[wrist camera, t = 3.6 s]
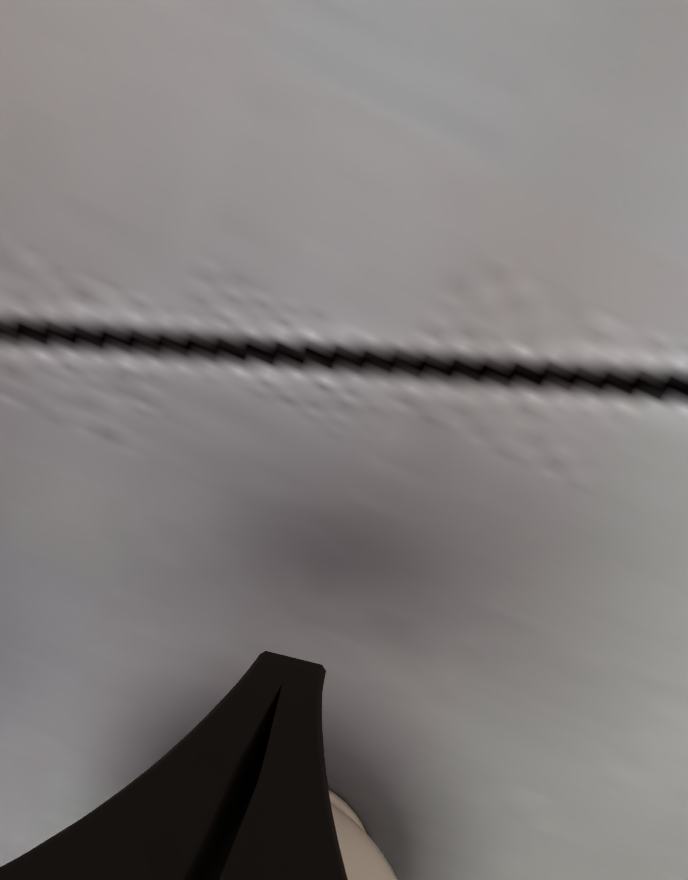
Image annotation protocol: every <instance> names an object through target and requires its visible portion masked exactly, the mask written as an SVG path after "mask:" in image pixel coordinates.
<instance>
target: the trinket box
mask: <svg viewBox="0 0 688 880" xmlns="http://www.w3.org/2000/svg"><path fill="white" fill-rule="evenodd" d="M329 796H330V802H331V808H332V813H333V818H334V823H335V828H336V833H337V837H338V842H339V847H340V851H341V855H342V859H343V863H344V867H345V871H346V875H347V879H348V880H398V879H397V877H396V875H395V873H394V871H393V869H392V867H391V866H390V864H389V863H388V861H387V860H386V859H385V857H384V856H383V854H382V853H381V851H380V850H379V849H378V847H377V846H376V844H375V843H374V842H373V840H372V839H371V838H370V837H369V836H368V835H367V833H366V831H365V829H364V827H363V825H362V823H361V821H360V820H359V818H358V817H357V815H356V814H355V812H354V811H353V810H352V809H351V808H350V807H349V806H348V805H347V804H346V803H345V802H344V801H343V800H342V799H341V798H339V797H338V796H337V795H336V794H335V793H333V792H332V791H330V790H329Z"/></svg>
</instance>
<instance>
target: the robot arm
mask: <svg viewBox="0 0 688 880" xmlns="http://www.w3.org/2000/svg"><path fill="white" fill-rule="evenodd" d="M325 673H326V670H325V669H324V667H323V666H322V665H320V664H316V663H312V662H308V661H304V660H300V659H296V658H292V657H288V656H284V655H280V654H276V653H271V652H267V651H265V652H263V653H261V654H260V655H259V656H258V658H257V659H256V660H255V662H254V663H253V664H252V666H251V667H250V668H249V669H248V671H247V672H246V673H245V674H244V676H243V677H242V678H241V679H240V680H239V682H238V683H237V684H236V685H235V686H234V687H233V688H232V690H231V691H230V692H229V693H228V694H227V695H226V696H225V697H224V698H223V699H222V700H221V701H220V703H219V704H218V705H217V706H216V707H215V708H214V709H213V710H212V711H211V712H210V713H209V714H208V715H207V716H206V717H205V718H204V719H203V720H202V721H201V722H200V723H199V724H198V725H197V726H196V727H195V728H194V729H193V730H192V731H191V732H190V733H189V734H187V735H186V736H185V737H184V738H183V739H182V740H181V741H180V742H179V743H178V744H177V745H176V746H175V747H174V748H172V749H171V750H170V751H169V752H168V753H167V754H166V755H165V756H163V757H162V758H161V759H160V760H159V761H158V762H156V763H155V764H154V765H153V766H152V767H150V768H149V769H148V770H147V771H145V772H144V773H143V774H142V775H140V776H139V777H138V778H137V779H135V780H134V781H133V782H132V783H130V784H129V785H128V786H126V787H125V788H124V789H122V790H121V791H120V792H118V793H117V794H115V795H114V796H113V797H111V798H110V799H109V800H107V801H106V802H104V803H103V804H102V805H100V806H99V807H98V808H96V809H95V810H93V811H92V812H90V813H89V814H87V815H86V816H85V817H83V818H82V819H80V820H79V821H77V822H76V823H74V824H72V825H71V826H69V827H67V828H66V829H64V830H63V831H61V832H59V833H58V834H56V835H55V836H53V837H51V838H50V839H48V840H46V841H45V842H43V843H42V844H40V845H38V846H37V847H35V848H34V849H32V850H30V851H29V852H27V853H25V854H23V855H22V856H20V857H18V858H17V859H15V860H13V861H11V862H9V863H7V864H6V865H4V866H2V867H0V880H348V879H347V875H346V871H345V867H344V863H343V859H342V855H341V851H340V847H339V842H338V837H337V833H336V828H335V823H334V818H333V813H332V808H331V802H330V796H329V789H328V782H327V776H326V768H325V759H324V747H323V735H322V690H323V684H324V678H325Z"/></svg>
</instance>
